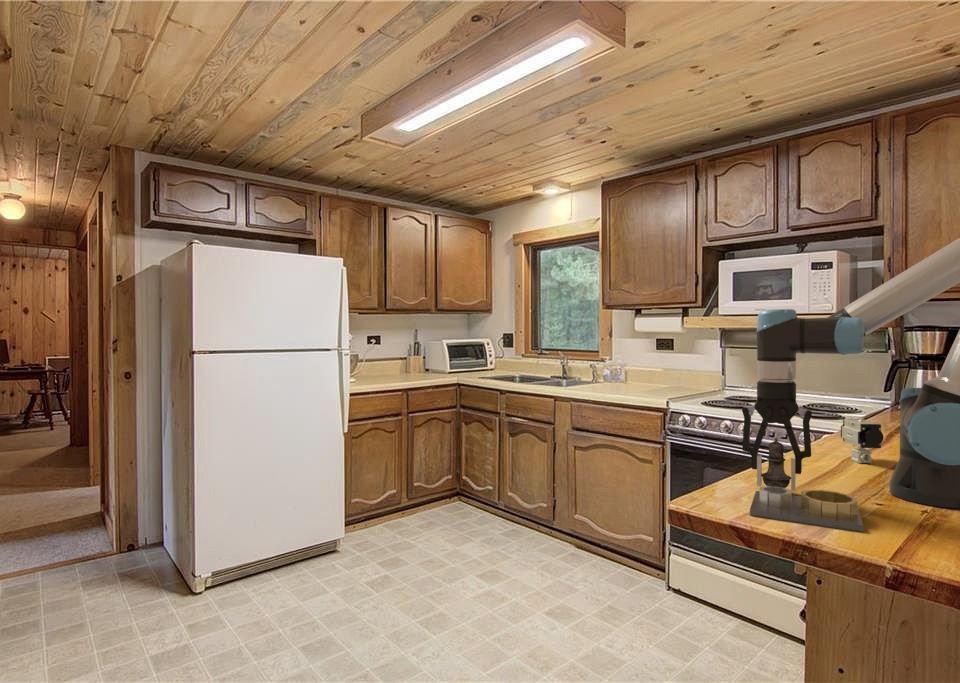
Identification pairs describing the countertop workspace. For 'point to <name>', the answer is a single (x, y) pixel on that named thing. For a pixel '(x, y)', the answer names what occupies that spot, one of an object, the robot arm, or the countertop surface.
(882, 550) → the countertop surface
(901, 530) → the countertop surface
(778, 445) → the salt shaker
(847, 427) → the pneumatic valve
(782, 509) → the plate
